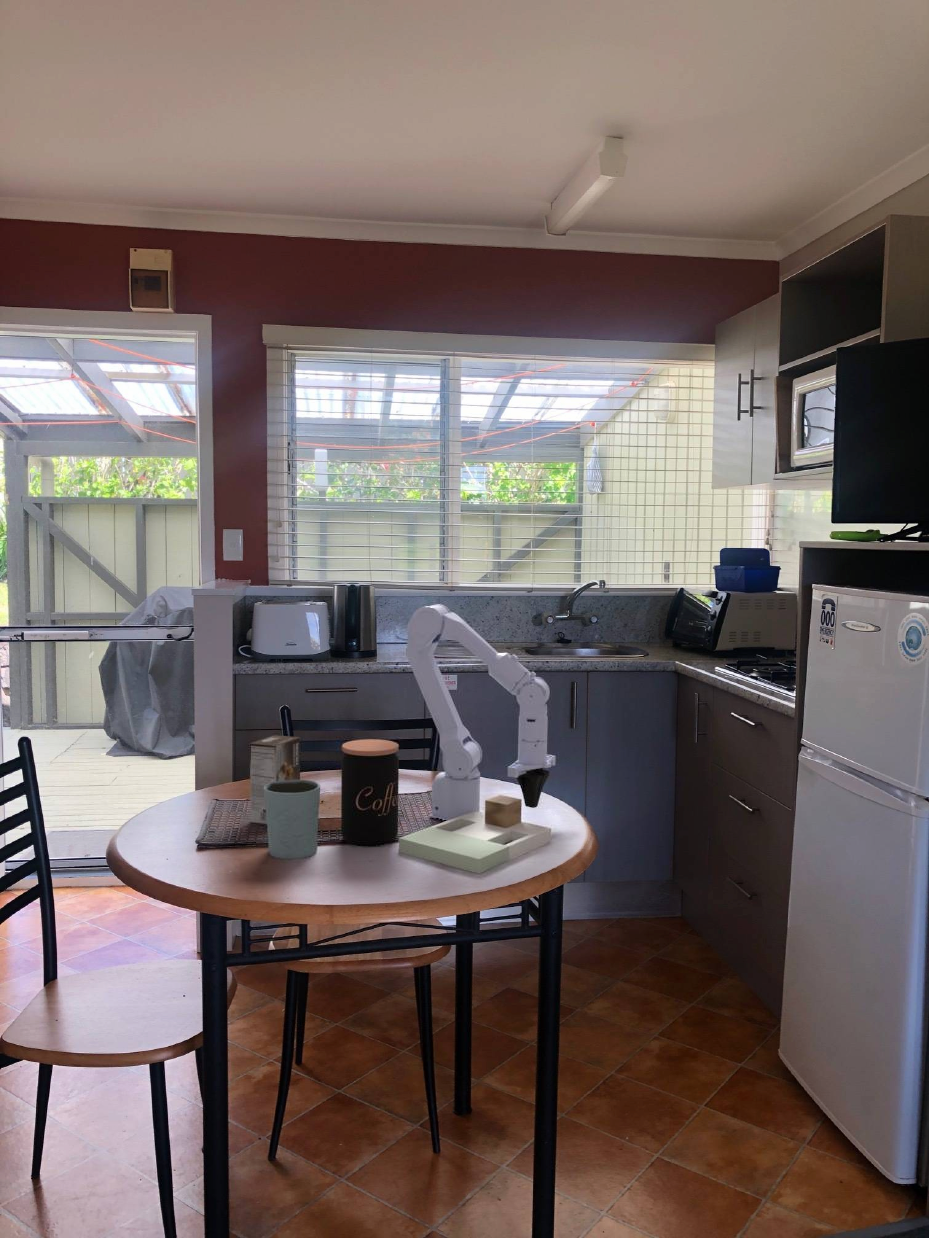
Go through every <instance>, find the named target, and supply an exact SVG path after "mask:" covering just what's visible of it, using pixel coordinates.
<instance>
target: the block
mask: <svg viewBox="0 0 929 1238" xmlns="http://www.w3.org/2000/svg"><path fill="white" fill-rule="evenodd" d="M484 806H485V807H484V813H485V823H486V824H490V825H494V826H499V827H503V828H508V827H511V826H513V825H516V824H518V823H521V822H522V806H523V805H522V799H521V798H517V797H512V796H507V795H502V794H500V795H496V796H493V797H491V798H487V799H485V802H484Z"/></svg>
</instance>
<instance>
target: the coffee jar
mask: <svg viewBox="0 0 929 1238" xmlns="http://www.w3.org/2000/svg"><path fill="white" fill-rule="evenodd" d="M399 747H400V745H399V744H398V743H397V742H394V741H393V740H392V741H391V740H386V739H373V738H370V739H367V738H366V739H357V740H351V741H347V742H344V743H342V745H341V751H342V752H343V756H342V758H341V771H340V772H341V773H340V774H341V778H340V779H341V784H340V785H341V786H340V787H341V788H340V791H341V792H340V793H341V795H340V796H341V799H340V800H341V801H340V802H341V803H340V804H341V807H340V809H341V810H340V811H341V812H340V815H341V817H340V818H341V819H340V821H341V822H340V823H341V824H340V834H341V837H342V838H343V840H344V841H345V843H346V844H348V845H350V846H351V845H352V846H355V847H361V848H373V847H374V848H376V847H382V846H386V845H389V844H392V843H393V842H394V841H395V839H396V838H397V837H398V833H399V783H400V782H399V781H400V780H399V773H400V771H399V768H400V767H399V765H400V764H399V763H400V759H399V756H398V755H397V752H398V751H399Z"/></svg>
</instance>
